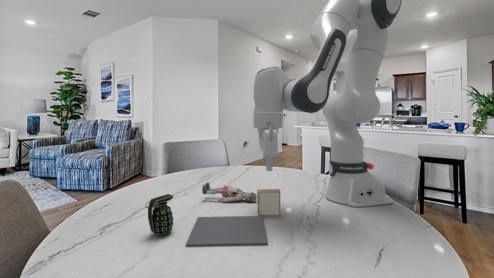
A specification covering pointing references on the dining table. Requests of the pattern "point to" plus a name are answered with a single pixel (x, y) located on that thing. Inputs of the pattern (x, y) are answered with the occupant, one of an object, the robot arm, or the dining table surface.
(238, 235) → the mat
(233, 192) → the figurine
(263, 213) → the tile
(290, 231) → the dining table surface
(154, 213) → the grenade
